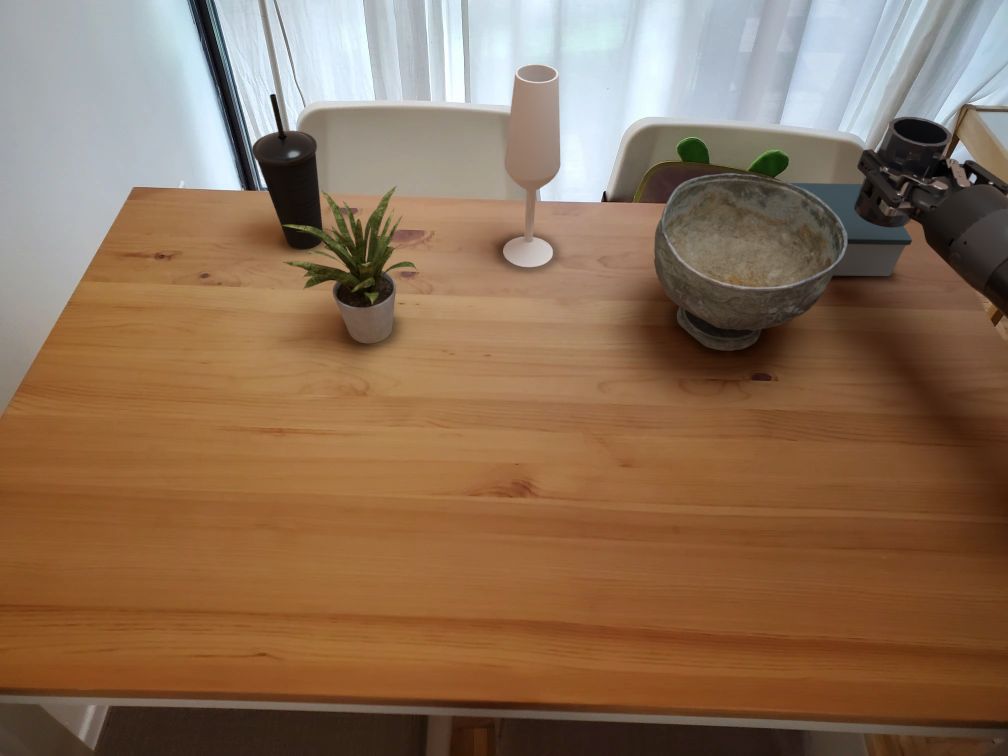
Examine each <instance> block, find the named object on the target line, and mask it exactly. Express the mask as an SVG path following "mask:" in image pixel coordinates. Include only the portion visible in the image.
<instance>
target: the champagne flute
mask: <svg viewBox="0 0 1008 756" xmlns="http://www.w3.org/2000/svg"><path fill="white" fill-rule="evenodd" d="M512 87H513V88H512V96H511V103H510V104H511V105H510V112H509V113H510V114H509V121H508V129H507V138H506V147H505V155H504V169H505V171H506V173H507V174H508V176H509V177H510V179H511V180H512V181H513V182H514V183H516V184H517V185H518V186H519V187H521V189H524V190H525V212H524V234H523V236H519V237H515V238H512V239H510V240H509V241H507V242H506V244H505V245H504V246H503V249H502V253H503V257H504V258H505V259H506V260H507V261H508V262H509V263H511V264H512V265H515V266H518V267H522V268H535V267H536V268H537V267H540V266H543V265H545V264H547V263H548V262H550V260H551V259H552V258H553V255H554V249H553V248H552V246H551V244H549V242H547V241H546V240H544V239H542V238H539V237H535V236H534V231H535V214H536V195H537V194H536V193H537V190H540V189H542V188H543V187H544V186H546V185H548V184H549V183H551V182H552V180H554V178H555V177H557V174H559V171H560V169H561V127H560V126H561V123H560V119H561V117H560V76H559V71H558V70H557V68H555V67H553V66H551V65H548V64H544V63H529V64H524V65H521V66H519V67H518V68H517V69H516V70H515V72H514V80H513V86H512Z"/></svg>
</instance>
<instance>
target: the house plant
mask: <svg viewBox="0 0 1008 756" xmlns="http://www.w3.org/2000/svg"><path fill="white" fill-rule="evenodd" d="M396 189H397V186H394V187H393V188H391V189H390V190H389V191H387V193H386V194H384V196H382V198H381V200H380V202H379V203H378V205H377V207H376V208H375V210H374V211H373V212H372V213H371V214H370V216H369V218H368V220H367V222H366V224H365V229H364V233H363V226H362V221H361V220H360V218H357V220H355V216H354V213H353V212H352V209H351V208H350V207H349V205H348V204H347V202H345V201H344V200H342V202H343V205H344V207H345V211H346V213H347V214H346V215H347V216H348V220H349V224H350V228H351V233H352V235H353V238H354V240H353V238H352V236H351V233H350V231H349V229H348V226H347V223H346V221H345V217H344V214H343V213H342V210H341V208H340V206H339V205H338V203H336V201H335V200H333V198H332V197H331V196H330V195H329V194H328V193H327V192H325V190H321V192H322V193H323V196H324V198H325V199H326V201H327V203H328V205H329V207H330V209H331V211H332V214H333V217H334V219H335V222H336V226H337V228H338V230H337V229H336V228H335V227H334V226H333V225H331V228H332V229H328V228H324V227H322V228H323V229H325V230H327V231H329V232H332V233H333V235H334V238H333V237H332V236H330V234H327V233H326V232H324V230H323V231H321V230H319V229H317V228H315V227H310V226H301V225H282V226H287V227H292V228H297V229H301V230H305V231H297V232H304V233H309V234H311V235H314V236H316V237H317V238H319V239H320V240H322V242H323V244H325V246H323V248H324V249H325V250H328V251H330V252H333V253H334V254H335V255H336V256H337V257H338V258H339V259H340V260H341V261H340V260H339V259H338V258H335V257H334V256H332V255H330V254H329V253H326V252H323V251H320V250H307V251H305V252H304V253H303V255H319V256H325V257H328V258H330V259H333V260H335V261H337V262H339V263H341V262H342V265H343V266H344V267H345V268H346V269H348V270H349V271H345V270H342V269H341V268H336V267H333V266H328V265H322V264H317V263H313V262H308V261H301V260H295V261H283V262H282V263H283V264H286V265H289V266H290V267H297V268H301V269H303V270H305V271H307V272H306V273H305V274H304V275H303V276H302V278H305V277H307V278H309V279H308V280H307V282H306V283H305V285H304V287H303V289H302V291H305V289H309V288H313V287H314V286H317V285H319V284H322V283H326V282H329V281H332V282H333V281H334V282H335V283H334V285H333V287H332V295H333V298H334V301H335V303H336V306H337V308H338V310H339V312H340V315H341V317H342V319H343V322H344V324H345V326H346V328H347V331H348V333H349V335H350V337H351V338H352V339H353V340H355V341H356V342H358V343H362V344H377V343H379V342H383V341H385V340H386V339H387V338H389V336H390V335H391V334H392V331H393V325H394V324H393V323H394V313H395V305H396V304H395V302H396V293H397V283H396V280H395V279H394V278H393V276H392V275H391V274H390V273H388V272H390V271H391V270H395V269H399V268H413V269H415V270H416V271H418V268H417V267H416V266H415V264H414V262H411V261H406V260H405V261H400V262H398V263H395V264H393V265H391V266H389V267H388V268H387V269H386V270H383V269H384V267H385V265H386V263H387V262H388V260H389V259H390V257H391V256H392V254H393V252H394V251H395V249H397V248H399V247H400V246H402V245H403V244H400V245H397V246H389V245H390V244H391V242H392V240H394V239H393V237H394V234H395V233H396V230H397V228H398V226H399V224H400V222H401V219H402V217H403V214H402V215H401V216H400V217H399V219H398V220H397V221H396V223H395V224H394V226H393V227H392V229H391V231H390V233H389V234H388V236H386V234H387V232H388V230H389V228H390V225H391V222H392V218H393V216H394V211H395V207H393V210H392V211H391V212H390V214H389V216H388V217H387V219H386V221H385V224H384V226H383V229H382V231H381V233H380V235H379V232H380V228H381V225H382V222H383V217H384V215H385V213H386V212H387V209H388V206H389V203H390V200H391V198H392V195H393V194H394V193H395V191H396ZM307 231H308V232H307ZM319 236H320V237H319ZM321 237H322V238H323V239H322V238H321ZM418 272H419V271H418Z"/></svg>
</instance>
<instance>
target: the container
mask: <svg viewBox="0 0 1008 756" xmlns="http://www.w3.org/2000/svg"><path fill="white" fill-rule="evenodd" d="M789 183H790V184H792V185H795V186H797V187H800V188H803V189H806V190H807V191H809V192H811V193H813V194H814V195H816V196H817V197H818V198H820V199H821V200H822V201H823V202H825V203H826V204H827V205H828V206H829V207H830V208H831V209H832V210H833V212H834V213H835V214H836V215H837V216H838V217H839V218H840V220H841V222H842V224H843V226H844V228H845V230H846V232H847V247H846V251H845V253H844V255H843V257H842V259H841V260H840V262H839V264H838V267H837V269H836V271H835V273H834V274H833V276H841V277H843V276H845V277H848V276H850V277H851V276H852V277H890V276H891V275H892V272H893V271H894V269H895V267H896V265H897V263H898V261H899V259H900V257H901V256H902V253H903V252H904V249H905V248H906V246H910V245H911V244H912V242H913V239H912V237H911V235H910V233H908V231H907V229H906V227H905V225H904V226H902V227H896V228H889V227H882V226H878V225H875V224H872V223H869V222H867V221H866V220H864V219H862V218H861V217H860V216H859V215H858V214H857V213H856V212H855V210H854V204H855V201H856V198H857V196H858V193H859V191H860V189H861V186H862V184H863V183H823V182H822V183H821V182H819V183H818V182H817V183H816V182H789Z"/></svg>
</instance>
